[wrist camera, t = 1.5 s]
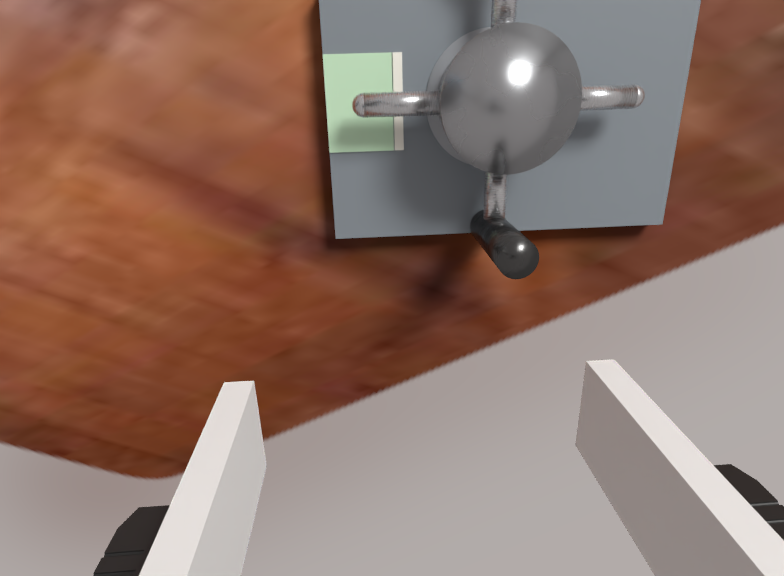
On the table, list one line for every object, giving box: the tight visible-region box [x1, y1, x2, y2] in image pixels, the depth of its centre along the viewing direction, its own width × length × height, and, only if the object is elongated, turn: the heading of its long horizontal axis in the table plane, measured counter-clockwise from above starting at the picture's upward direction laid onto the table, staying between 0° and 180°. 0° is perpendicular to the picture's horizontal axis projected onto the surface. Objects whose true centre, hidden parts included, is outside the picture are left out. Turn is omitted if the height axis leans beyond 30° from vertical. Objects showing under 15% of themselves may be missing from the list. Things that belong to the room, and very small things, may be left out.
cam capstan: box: [352, 0, 645, 279], centre depth 25 cm, size 15×17×7 cm
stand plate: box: [319, 0, 701, 239], centre depth 29 cm, size 20×13×1 cm, turn 92°
